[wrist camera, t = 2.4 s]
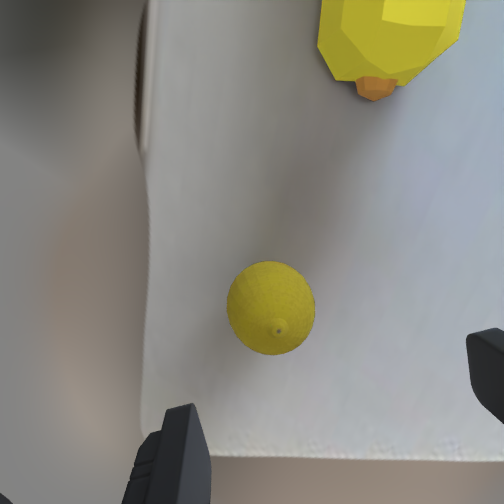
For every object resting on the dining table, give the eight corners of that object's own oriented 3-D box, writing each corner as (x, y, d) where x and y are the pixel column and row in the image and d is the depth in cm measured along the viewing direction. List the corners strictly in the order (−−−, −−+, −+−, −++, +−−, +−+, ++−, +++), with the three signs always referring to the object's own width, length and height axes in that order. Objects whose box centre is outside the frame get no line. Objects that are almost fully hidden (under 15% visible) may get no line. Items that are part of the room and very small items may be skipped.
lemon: (272, 335, 29) (289, 395, 21) (212, 296, 28) (205, 344, 20) (316, 277, 28) (350, 318, 20) (255, 235, 27) (266, 261, 19)
